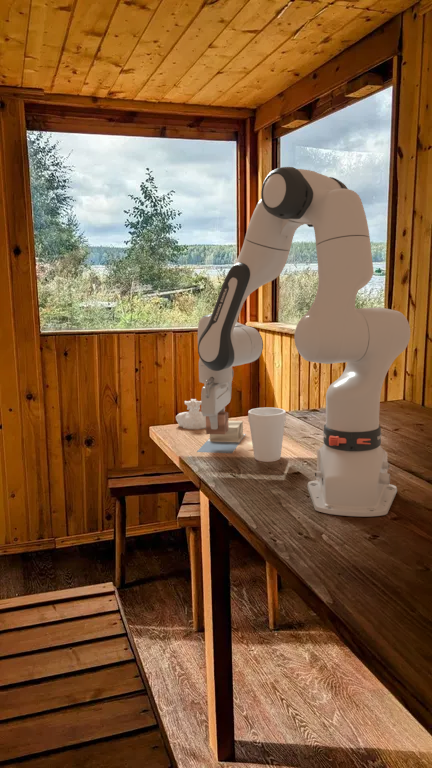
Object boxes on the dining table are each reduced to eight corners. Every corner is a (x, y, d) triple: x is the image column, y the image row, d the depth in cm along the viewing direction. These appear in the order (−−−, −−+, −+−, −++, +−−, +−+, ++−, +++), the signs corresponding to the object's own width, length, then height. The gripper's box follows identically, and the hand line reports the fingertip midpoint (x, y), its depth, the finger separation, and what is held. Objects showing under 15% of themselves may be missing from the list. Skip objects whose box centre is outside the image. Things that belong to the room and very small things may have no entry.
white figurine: (176, 437, 187) (171, 414, 179) (178, 418, 192) (174, 395, 184) (214, 437, 186) (211, 414, 178) (215, 418, 191) (213, 394, 183)
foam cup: (259, 454, 159) (258, 406, 156) (292, 458, 154) (291, 409, 152) (242, 464, 151) (241, 413, 148) (276, 469, 146) (275, 416, 144)
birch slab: (237, 441, 168) (237, 427, 167) (209, 440, 170) (209, 426, 169) (243, 434, 176) (242, 421, 175) (216, 433, 177) (216, 420, 177)
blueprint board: (232, 457, 157) (232, 453, 157) (196, 455, 159) (196, 451, 159) (246, 437, 176) (246, 433, 176) (214, 436, 178) (214, 432, 178)
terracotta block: (224, 434, 158) (224, 415, 157) (206, 434, 159) (205, 415, 158) (228, 429, 163) (228, 411, 162) (210, 429, 164) (210, 411, 163)
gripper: (218, 380, 148) (220, 435, 150) (234, 369, 167) (236, 418, 169) (194, 380, 149) (196, 435, 151) (212, 369, 169) (214, 417, 171)
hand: (217, 426), depth 161 cm, fingers closed on terracotta block, 5 cm apart
